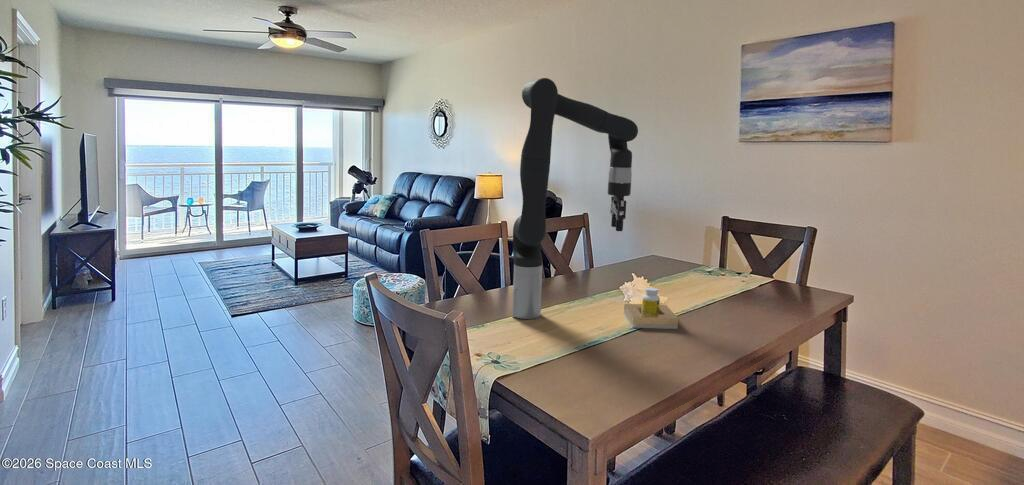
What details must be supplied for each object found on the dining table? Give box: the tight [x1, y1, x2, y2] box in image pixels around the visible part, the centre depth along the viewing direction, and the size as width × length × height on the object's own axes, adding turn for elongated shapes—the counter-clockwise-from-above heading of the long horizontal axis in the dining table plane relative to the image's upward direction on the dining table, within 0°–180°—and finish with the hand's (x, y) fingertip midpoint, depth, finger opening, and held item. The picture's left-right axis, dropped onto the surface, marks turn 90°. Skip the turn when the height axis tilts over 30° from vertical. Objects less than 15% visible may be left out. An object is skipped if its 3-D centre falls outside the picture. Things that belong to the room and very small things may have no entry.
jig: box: [623, 303, 679, 330], centre depth 177 cm, size 14×14×4 cm
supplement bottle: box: [641, 287, 661, 314], centre depth 176 cm, size 5×5×10 cm
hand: (616, 228), depth 185 cm, fingers open, 8 cm apart
